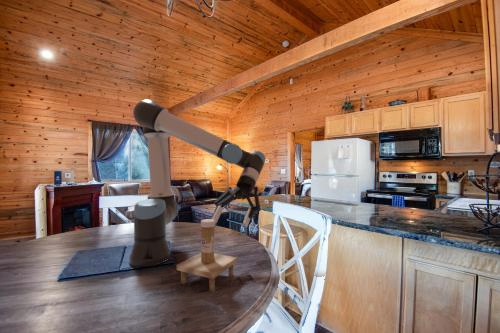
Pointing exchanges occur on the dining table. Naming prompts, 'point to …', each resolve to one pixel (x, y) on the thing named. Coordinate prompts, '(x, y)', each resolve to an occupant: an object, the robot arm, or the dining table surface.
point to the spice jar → (207, 240)
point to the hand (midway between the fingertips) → (228, 223)
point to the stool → (207, 268)
